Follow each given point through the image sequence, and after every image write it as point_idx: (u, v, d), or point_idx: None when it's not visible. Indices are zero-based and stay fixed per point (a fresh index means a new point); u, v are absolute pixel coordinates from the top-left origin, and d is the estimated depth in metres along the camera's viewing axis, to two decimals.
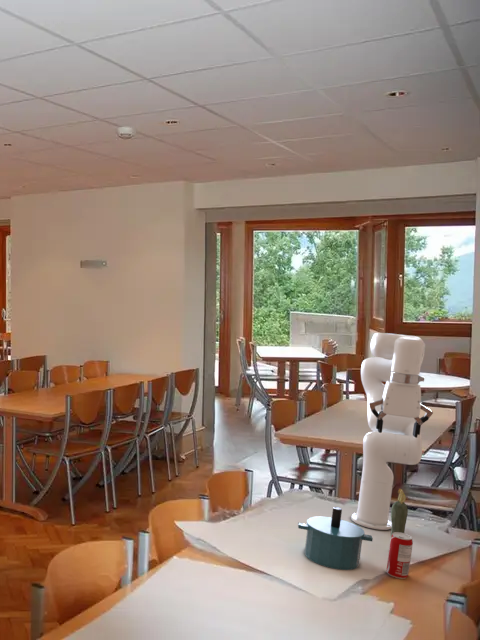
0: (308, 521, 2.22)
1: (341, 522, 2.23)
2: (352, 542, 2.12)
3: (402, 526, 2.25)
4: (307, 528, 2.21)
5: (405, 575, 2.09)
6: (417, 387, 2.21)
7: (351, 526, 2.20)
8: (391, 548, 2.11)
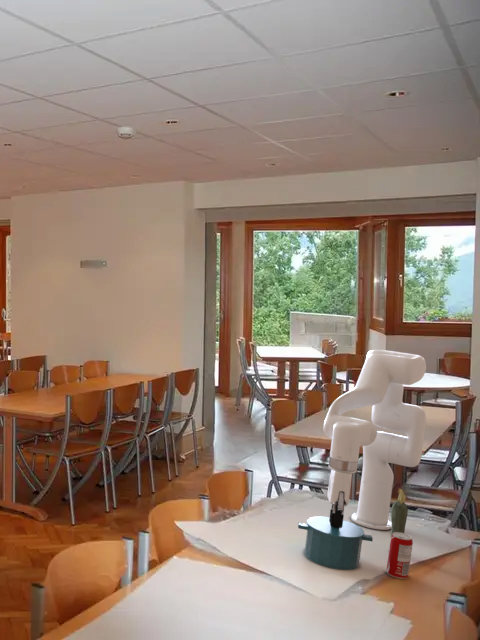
0: (308, 521, 2.22)
1: None
2: (352, 542, 2.12)
3: (402, 526, 2.25)
4: (307, 528, 2.21)
5: (405, 575, 2.09)
6: None
7: (351, 526, 2.20)
8: (391, 548, 2.11)
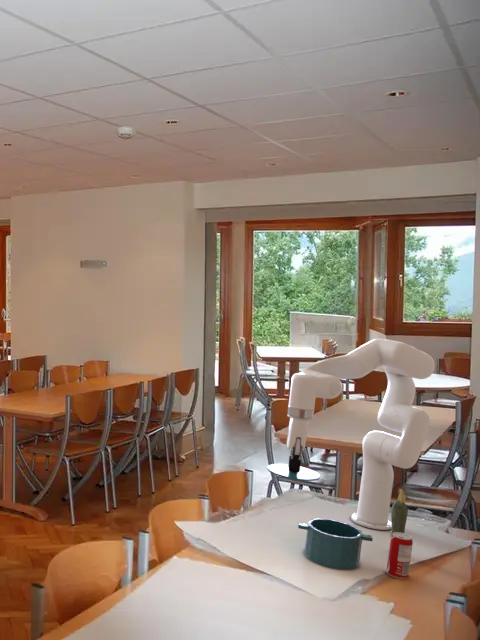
0: (268, 467, 2.38)
1: None
2: (352, 542, 2.12)
3: (402, 526, 2.25)
4: (307, 528, 2.21)
5: (405, 575, 2.09)
6: None
7: (308, 471, 2.36)
8: (391, 548, 2.11)
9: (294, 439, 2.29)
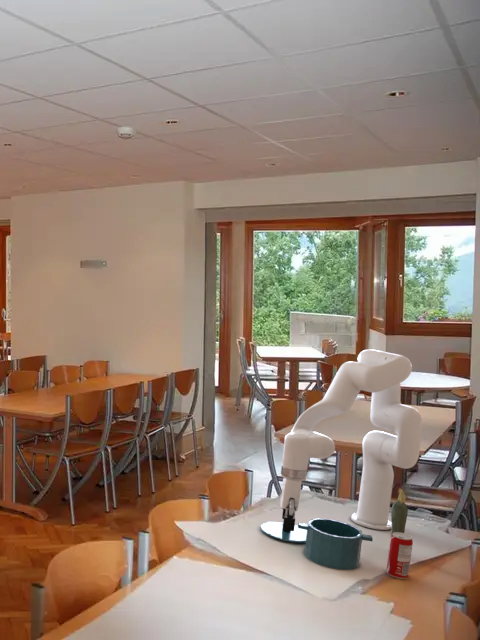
0: (262, 526, 2.40)
1: None
2: (352, 542, 2.12)
3: (402, 526, 2.25)
4: (307, 528, 2.21)
5: (405, 575, 2.09)
6: None
7: (301, 531, 2.38)
8: (391, 548, 2.11)
9: (287, 499, 2.32)
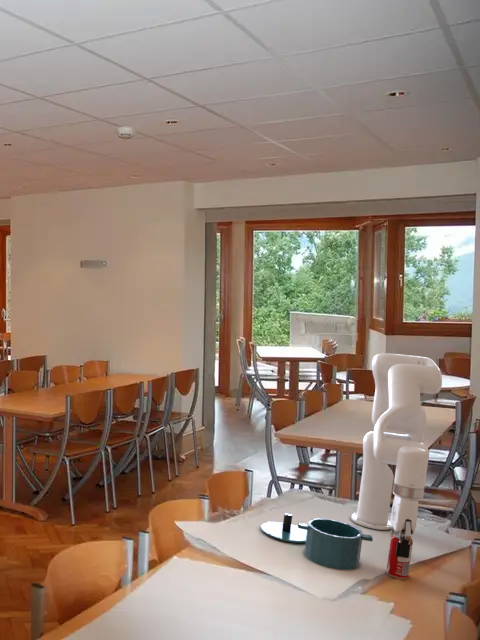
0: (262, 526, 2.40)
1: (292, 527, 2.41)
2: (352, 542, 2.12)
3: None
4: (307, 528, 2.21)
5: (405, 575, 2.09)
6: None
7: (301, 531, 2.38)
8: (391, 548, 2.11)
9: (403, 521, 2.06)
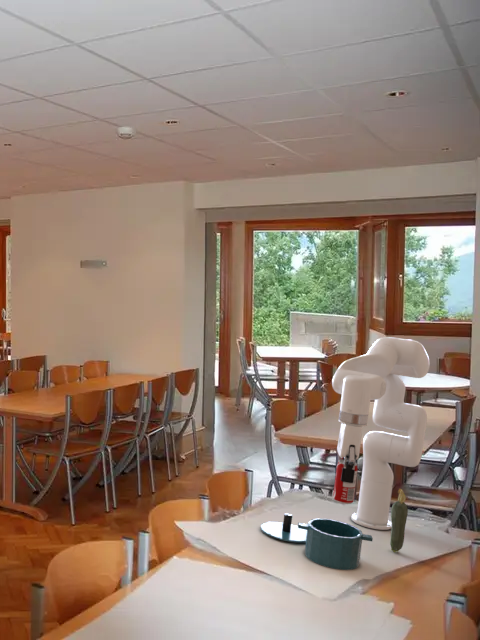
0: (262, 526, 2.40)
1: (292, 527, 2.41)
2: (352, 542, 2.12)
3: (402, 526, 2.25)
4: (307, 528, 2.21)
5: (350, 500, 2.15)
6: None
7: (301, 531, 2.38)
8: (337, 474, 2.17)
9: (347, 447, 2.12)
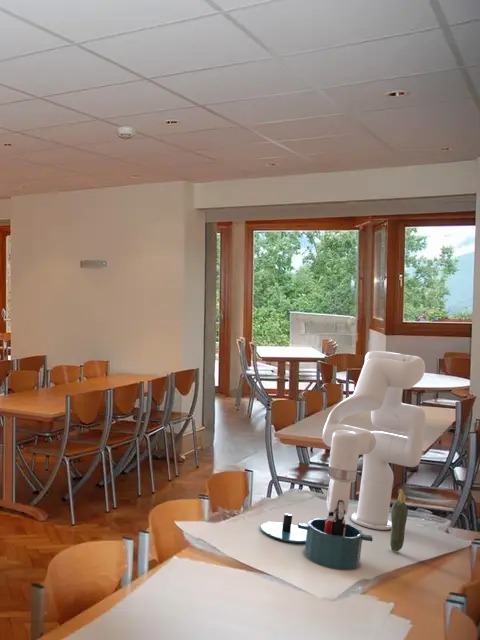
0: (262, 526, 2.40)
1: (292, 527, 2.41)
2: (352, 542, 2.12)
3: (402, 526, 2.25)
4: (307, 528, 2.21)
5: None
6: None
7: (301, 531, 2.38)
8: (325, 531, 2.19)
9: (336, 502, 2.14)
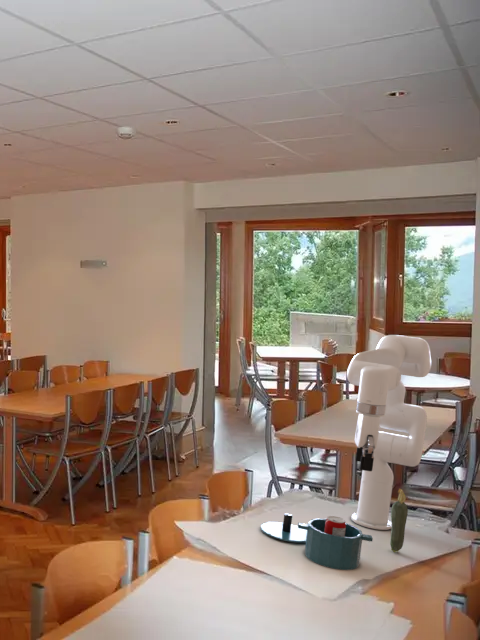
0: (262, 526, 2.40)
1: (292, 527, 2.41)
2: (352, 542, 2.12)
3: (402, 526, 2.25)
4: (307, 528, 2.21)
5: None
6: None
7: (301, 531, 2.38)
8: (325, 531, 2.19)
9: (365, 437, 2.14)
